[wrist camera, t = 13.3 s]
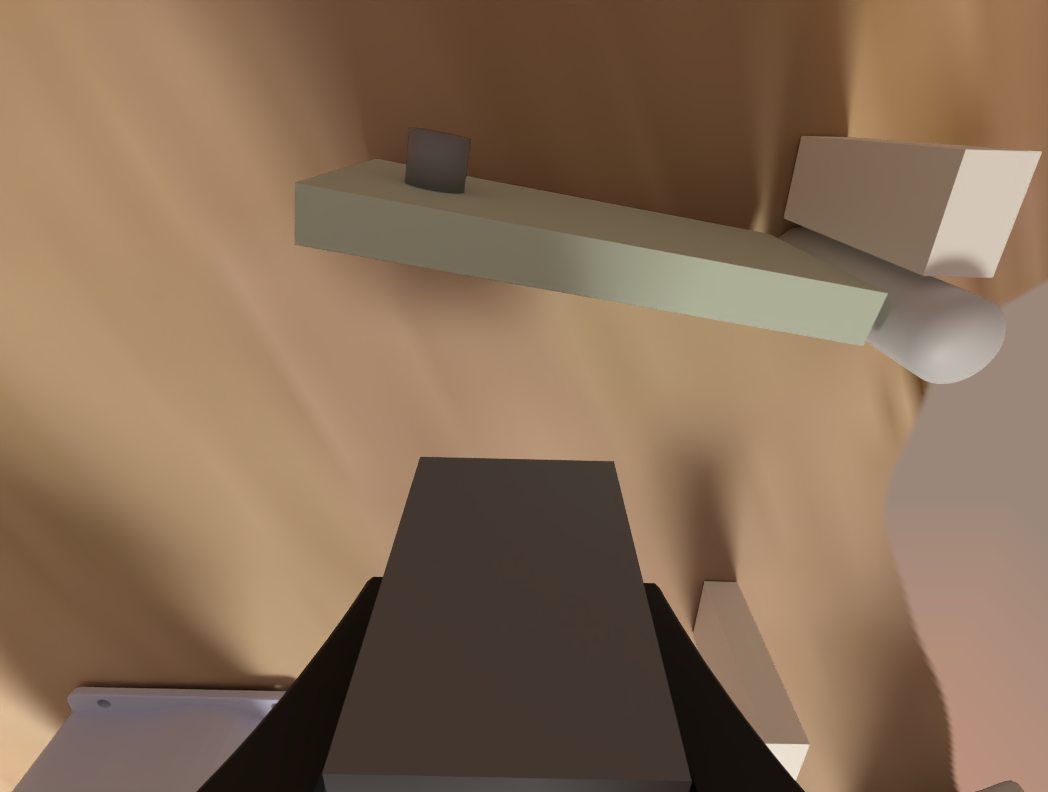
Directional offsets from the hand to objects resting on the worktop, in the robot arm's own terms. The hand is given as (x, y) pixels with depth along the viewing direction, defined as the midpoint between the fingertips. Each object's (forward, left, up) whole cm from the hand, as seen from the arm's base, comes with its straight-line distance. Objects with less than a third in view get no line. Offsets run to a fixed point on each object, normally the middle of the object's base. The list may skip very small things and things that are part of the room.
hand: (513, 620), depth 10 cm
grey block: (0, 0, -2) cm, 2 cm away
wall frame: (+7, -1, -8) cm, 11 cm away
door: (+1, +6, -8) cm, 10 cm away
